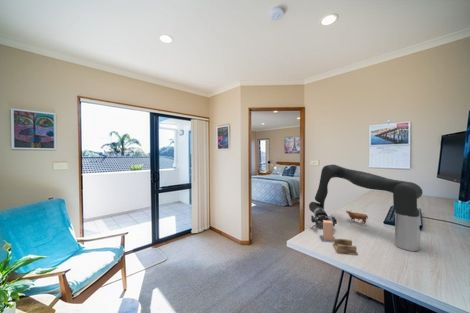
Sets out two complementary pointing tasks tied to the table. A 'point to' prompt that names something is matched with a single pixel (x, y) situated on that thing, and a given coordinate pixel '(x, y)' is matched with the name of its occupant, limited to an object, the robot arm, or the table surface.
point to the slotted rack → (344, 247)
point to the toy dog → (357, 216)
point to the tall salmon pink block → (328, 230)
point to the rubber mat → (326, 240)
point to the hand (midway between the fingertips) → (325, 224)
